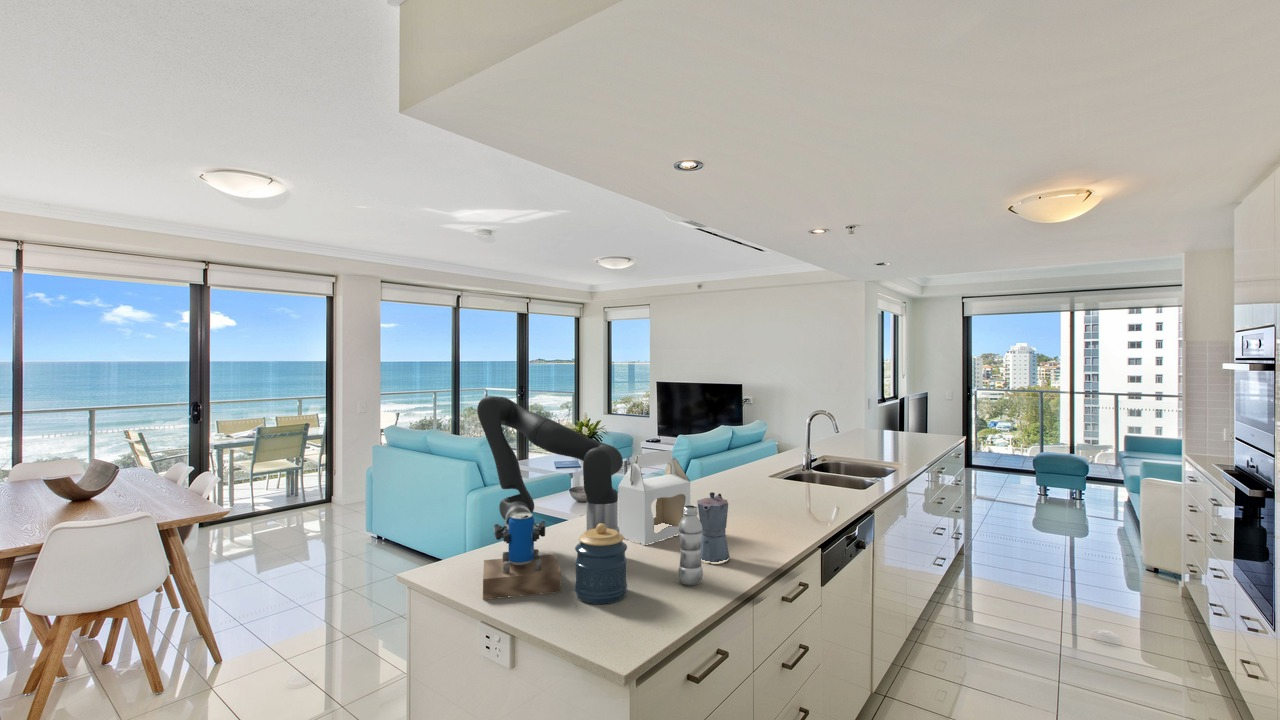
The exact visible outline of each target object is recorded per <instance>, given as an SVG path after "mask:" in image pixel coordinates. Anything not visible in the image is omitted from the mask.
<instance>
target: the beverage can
mask: <svg viewBox="0 0 1280 720" xmlns="http://www.w3.org/2000/svg"><path fill="white" fill-rule="evenodd" d="M510 517H511V518H510V519H509V543H508V552H509V557H508V559H509V561H510V562H512V563H513V564H516V565H523V564H527V563H530V562H531V560H533V559H534V549H535V541H534V523H535V518H534V517H533V513H526V512H521V513H514V514H512V515H511V516H510Z"/></svg>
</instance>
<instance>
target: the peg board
mask: <svg viewBox="0 0 1280 720" xmlns="http://www.w3.org/2000/svg"><path fill="white" fill-rule="evenodd" d="M539 551H540V549H535V548H534V559H533V560H531V562H530V563H527V564H523V565H516V564H513V563H512V562H510V561H509V559H508V557H509V551H503V552H502V558H495V559H483V573H482V574H483V575H482V600H483V599H485V600H491V599H490V598H495V599H499V598H498V597H505V598H509V597H508V596H515V597H521V596H520V595H525V596H534V595H533V594H535V595H541V594H540V593H545V594H552V593H553V592H555V593H561V592H562V571H561V568H560V564H559V561H558V558H557V556H556V554H554V553H553V554H541V555H539V553H540V552H539Z"/></svg>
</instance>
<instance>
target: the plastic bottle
mask: <svg viewBox="0 0 1280 720" xmlns="http://www.w3.org/2000/svg"><path fill="white" fill-rule="evenodd" d="M683 514H684V517H683V518H682V520H681V522H680V523H679V527H678V528H679V536H678V537H679V543H680V545H679V546H680V558H679V565H678V566H679V567H678V571H677V572H678V574H677V575H678V579H679V581H680V583H681V584H684V585H686V586H696V585H695V584H697V585H699V584H701V582H702V580H703V577H704V572H703V571H704V570H703V566H702V565H703V564H702V562H701V554H700V552H701V549H700V548H701V537H702V529H703V527H702V524H701V522H700V519H699V516H697V515H699V511H698V505H693V504H692V505H691V504H690V505H687V506H684V512H683ZM698 583H699V584H698Z"/></svg>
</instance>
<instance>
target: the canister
mask: <svg viewBox="0 0 1280 720" xmlns="http://www.w3.org/2000/svg"><path fill="white" fill-rule="evenodd" d="M624 540H625V539H624V536H623V535H622V534H620V533H618V531H616V530H614V529H609V528H606V525H605V524H603V523H599V524H598V525H597V526H596V529H590V530H587V529H586V530H585V531H584V533H582V534H580V535H579V536H578V541H579V543H577V544H576V545H575V548H574V549H575V551H576V553H577V554H576V558H575V560H574V562H575V585H574V591H575V596H576V598H577V599H578V600H579V601H582V602H583V603H587V604H593V605H594V604H595V605H605V604H606V605H607V604H612V603H616V602H619V601H621V600H622V599H624V598H625V597H626V595H627V590H628V583H627V562H628V558H627V557H626V551H627V550H628V546H627V544H626V543H625V542H624Z"/></svg>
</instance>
